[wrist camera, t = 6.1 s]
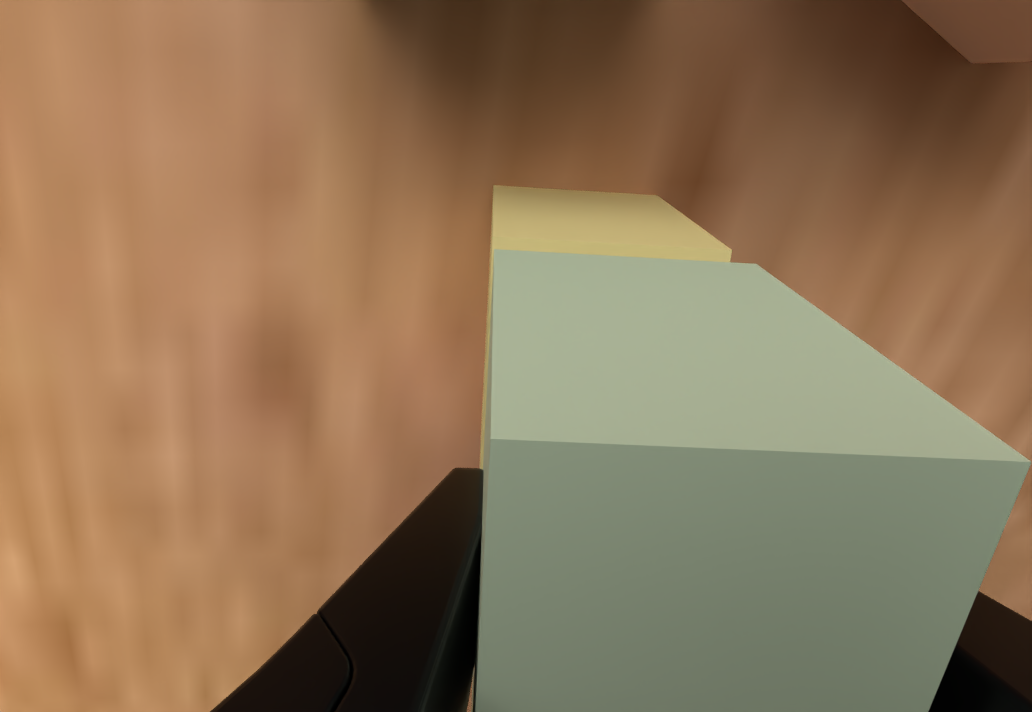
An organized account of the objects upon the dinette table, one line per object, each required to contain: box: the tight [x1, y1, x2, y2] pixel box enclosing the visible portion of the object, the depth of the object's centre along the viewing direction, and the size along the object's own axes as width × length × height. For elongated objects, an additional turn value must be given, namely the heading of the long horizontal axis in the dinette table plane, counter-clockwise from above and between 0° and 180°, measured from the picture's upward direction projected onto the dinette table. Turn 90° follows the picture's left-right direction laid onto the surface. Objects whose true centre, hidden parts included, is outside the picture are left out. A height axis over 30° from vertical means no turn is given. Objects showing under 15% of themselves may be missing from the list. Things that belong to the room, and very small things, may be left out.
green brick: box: [471, 249, 1031, 712], centre depth 8 cm, size 6×4×5 cm, turn 176°
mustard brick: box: [480, 185, 732, 469], centre depth 13 cm, size 6×4×5 cm, turn 176°
